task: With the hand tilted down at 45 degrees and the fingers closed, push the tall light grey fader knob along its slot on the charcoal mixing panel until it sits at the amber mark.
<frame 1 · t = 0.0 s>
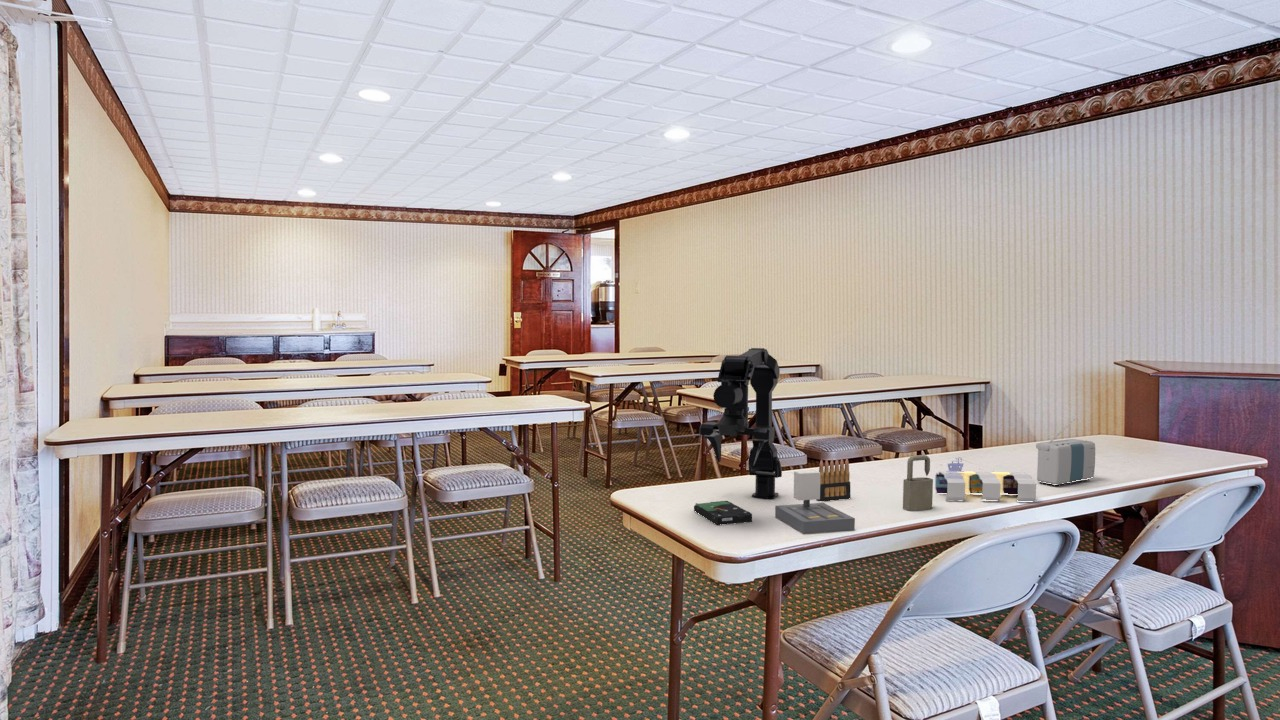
hand: (736, 463, 193), 15 cm above the table, tool pointing down, fingers open, 9 cm apart
disk drive: (722, 518, 197), on the table
diorama: (983, 500, 219), on the table
fader knob: (806, 489, 194), point 8 cm above the table, slide at 0.0 cm
mixing panel: (813, 523, 190), on the table
stereo radio cassette player: (1064, 483, 241), on the table
padlock: (917, 509, 206), on the table
ammunition clip: (833, 500, 216), on the table
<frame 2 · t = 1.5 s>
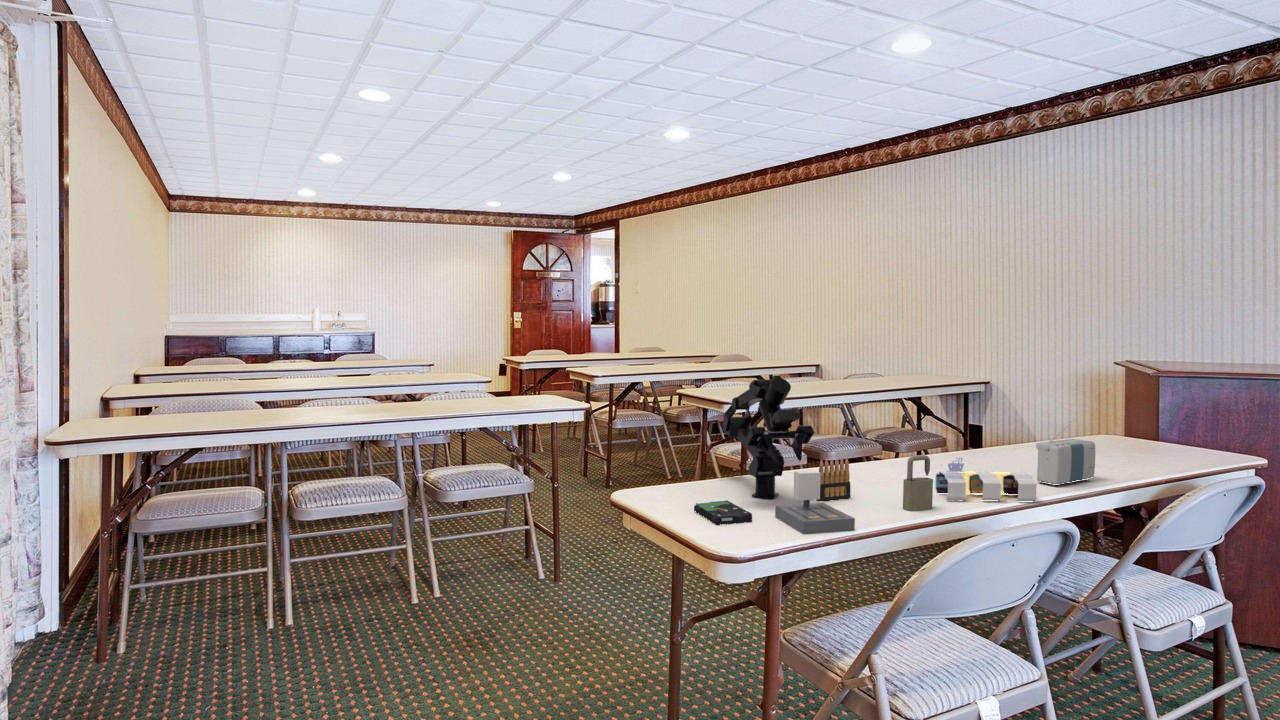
hand: (788, 460, 204), 14 cm above the table, tool tilted 45°, fingers open, 7 cm apart
nothing on the table moved.
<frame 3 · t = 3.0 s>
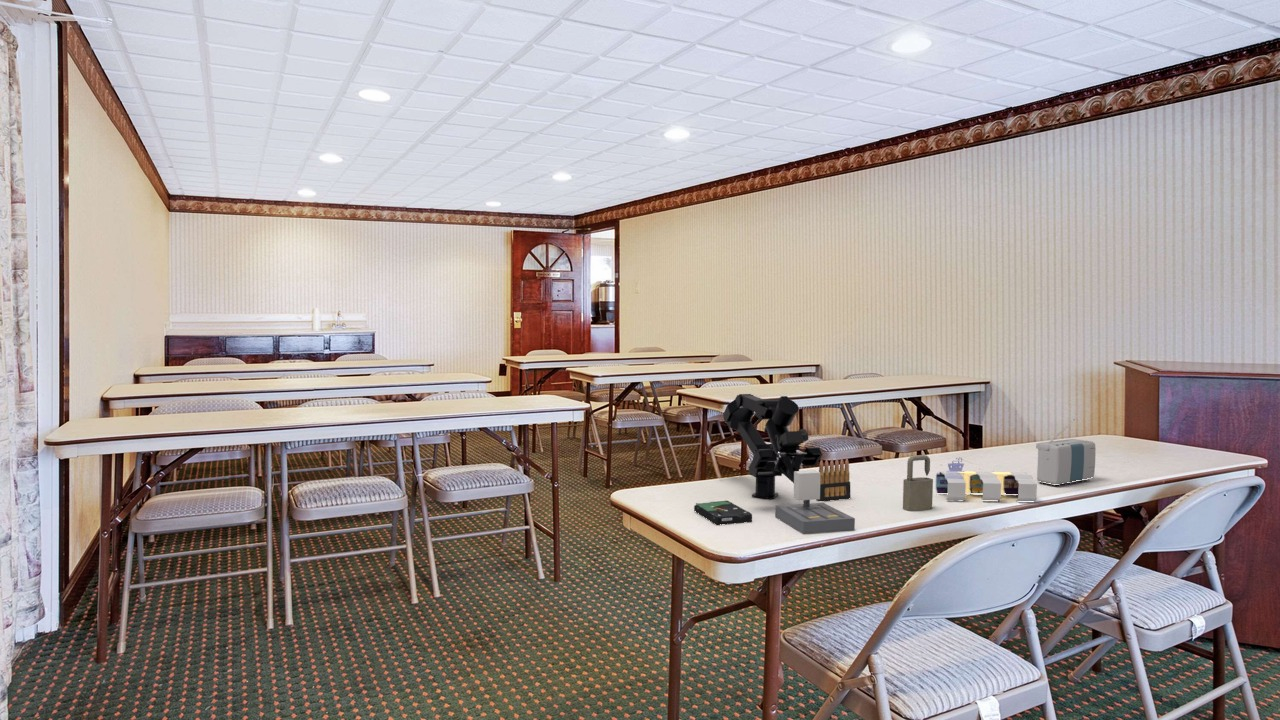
hand: (797, 483, 199), 8 cm above the table, tool tilted 45°, fingers closed
nothing on the table moved.
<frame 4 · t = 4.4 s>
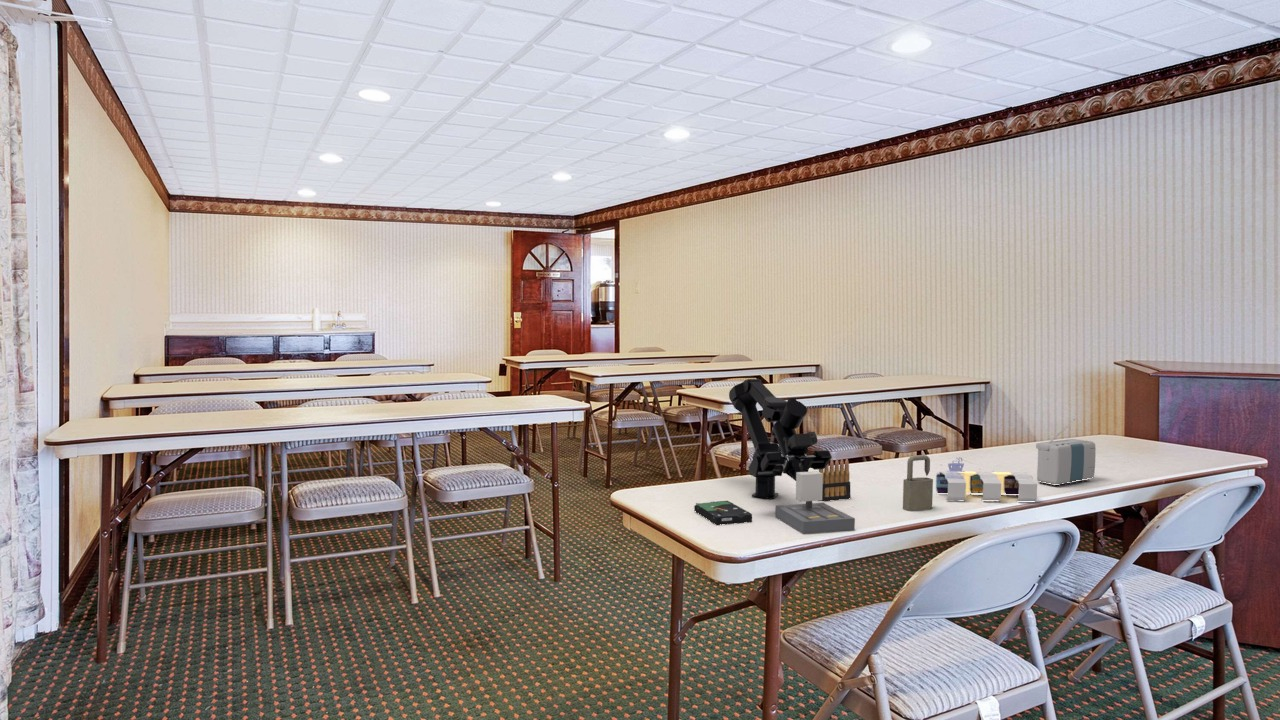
hand: (806, 487, 194), 8 cm above the table, tool tilted 45°, fingers closed, pressing on fader knob
fader knob: (809, 490, 193), point 8 cm above the table, slide at 1.3 cm, touching gripper
everything else where it was.
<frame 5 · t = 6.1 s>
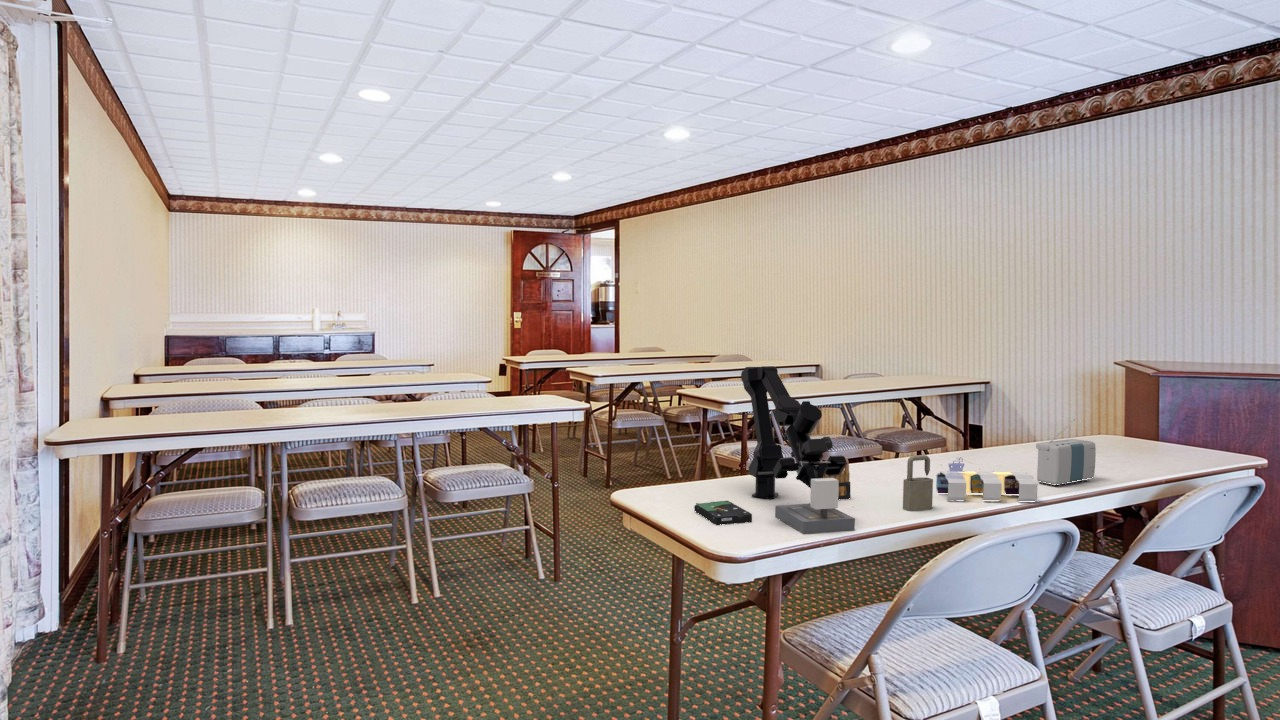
hand: (820, 494, 187), 8 cm above the table, tool tilted 45°, fingers closed, pressing on fader knob
fader knob: (824, 497, 185), point 8 cm above the table, slide at 9.3 cm, touching gripper
everything else where it was.
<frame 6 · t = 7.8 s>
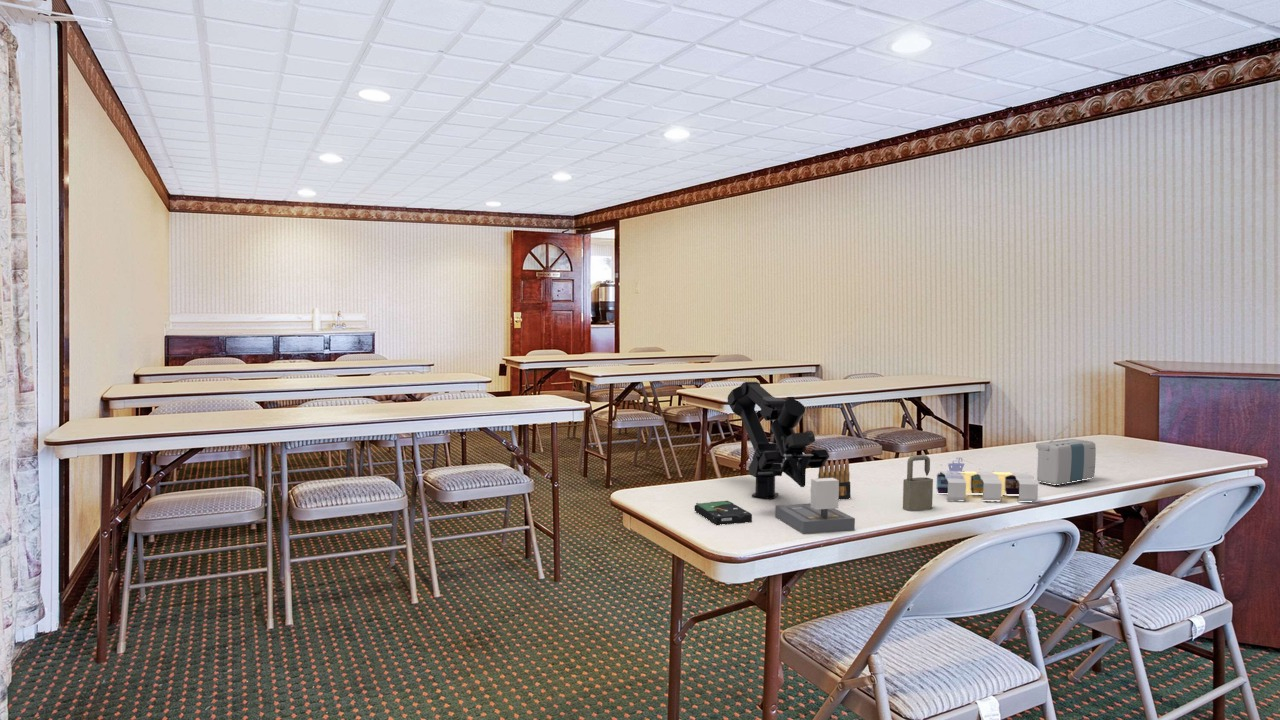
hand: (803, 486, 196), 8 cm above the table, tool tilted 45°, fingers closed
fader knob: (824, 497, 185), point 8 cm above the table, slide at 9.4 cm
everything else where it was.
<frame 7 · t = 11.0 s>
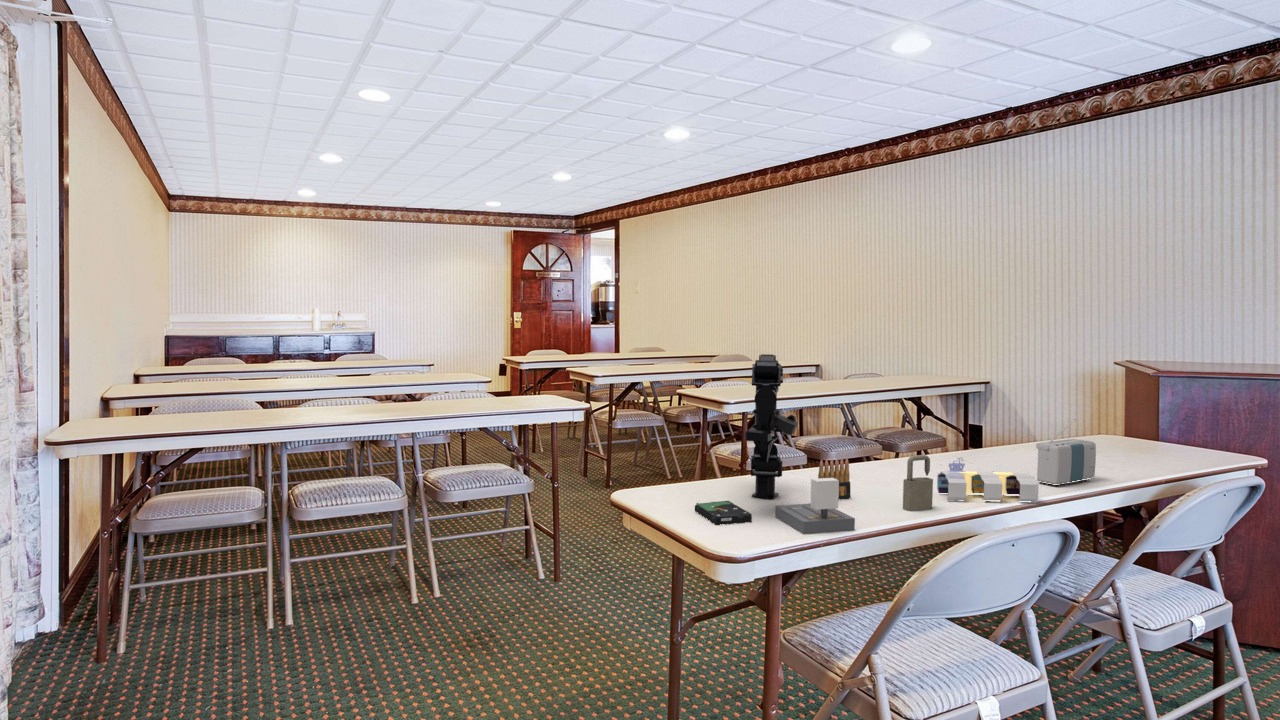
hand: (765, 462, 203), 13 cm above the table, tool pointing down, fingers closed
nothing on the table moved.
at the end: fader knob slide at 9.4 cm; disk drive moved 0.7 cm from its start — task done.
